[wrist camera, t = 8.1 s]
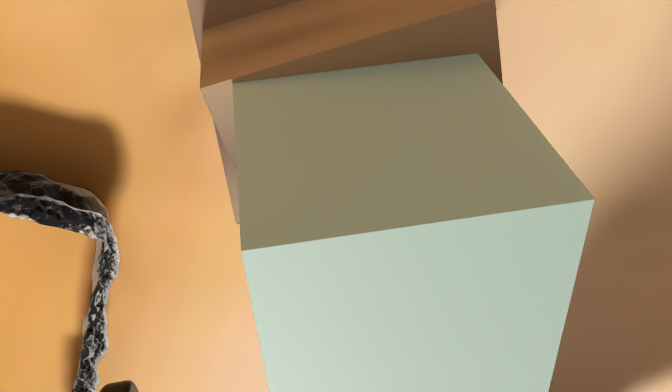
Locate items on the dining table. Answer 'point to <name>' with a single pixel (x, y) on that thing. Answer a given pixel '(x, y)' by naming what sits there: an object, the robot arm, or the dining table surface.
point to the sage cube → (404, 230)
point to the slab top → (338, 43)
